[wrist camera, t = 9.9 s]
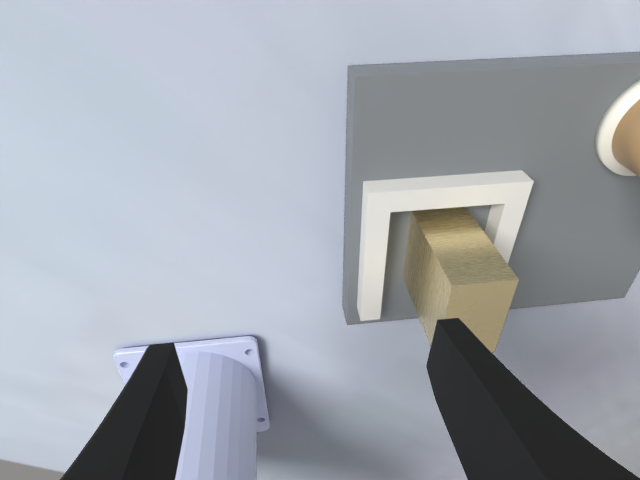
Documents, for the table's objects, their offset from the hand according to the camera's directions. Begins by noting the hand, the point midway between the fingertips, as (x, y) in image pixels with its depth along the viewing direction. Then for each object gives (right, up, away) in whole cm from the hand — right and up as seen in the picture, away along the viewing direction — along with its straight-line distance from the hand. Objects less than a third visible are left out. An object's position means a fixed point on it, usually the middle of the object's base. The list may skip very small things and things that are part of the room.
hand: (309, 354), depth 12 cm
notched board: (+9, +5, +9) cm, 14 cm away
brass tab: (+6, +3, +9) cm, 11 cm away
